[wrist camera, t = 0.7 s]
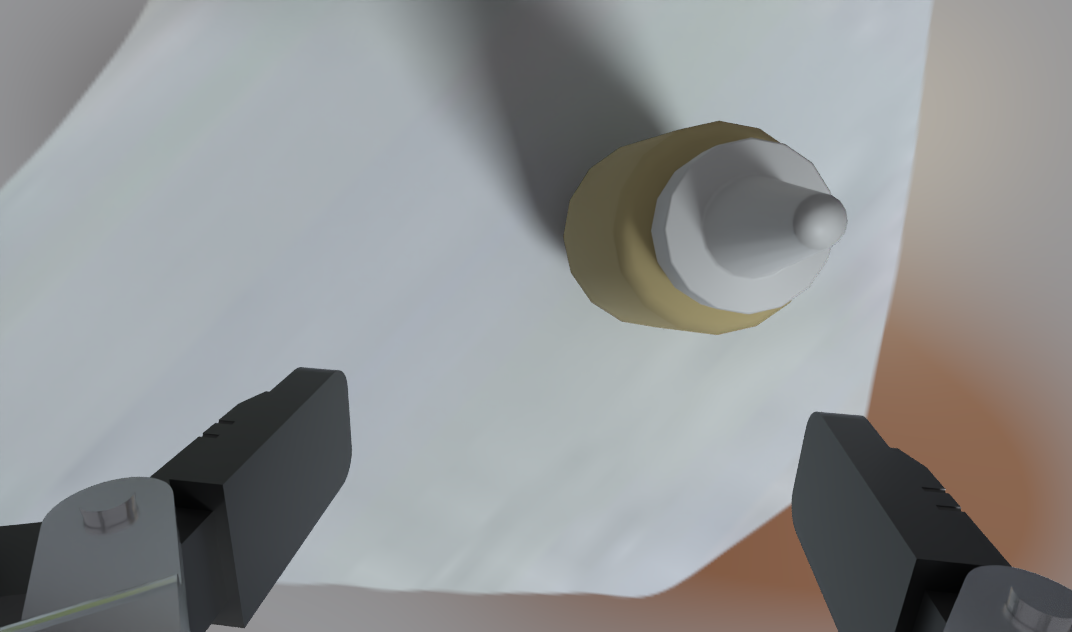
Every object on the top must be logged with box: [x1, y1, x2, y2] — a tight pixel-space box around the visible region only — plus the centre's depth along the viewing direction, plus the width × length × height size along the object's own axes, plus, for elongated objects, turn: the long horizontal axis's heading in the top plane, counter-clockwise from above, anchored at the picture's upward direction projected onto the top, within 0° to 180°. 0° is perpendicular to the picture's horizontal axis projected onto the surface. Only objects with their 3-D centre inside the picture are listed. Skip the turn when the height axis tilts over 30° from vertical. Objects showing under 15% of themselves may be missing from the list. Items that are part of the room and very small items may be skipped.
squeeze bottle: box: [563, 121, 847, 335], centre depth 22 cm, size 8×8×18 cm
